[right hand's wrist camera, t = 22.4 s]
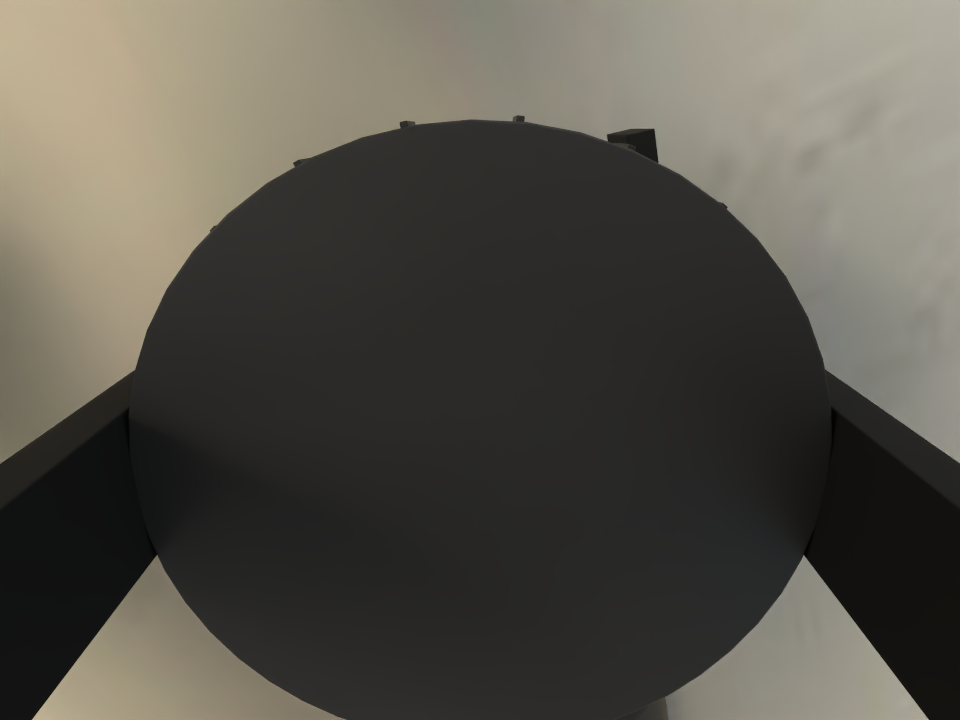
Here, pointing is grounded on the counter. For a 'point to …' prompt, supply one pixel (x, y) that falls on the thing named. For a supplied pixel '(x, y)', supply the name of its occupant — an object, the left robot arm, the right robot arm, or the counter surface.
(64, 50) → the counter surface
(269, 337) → the lid
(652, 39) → the counter surface
